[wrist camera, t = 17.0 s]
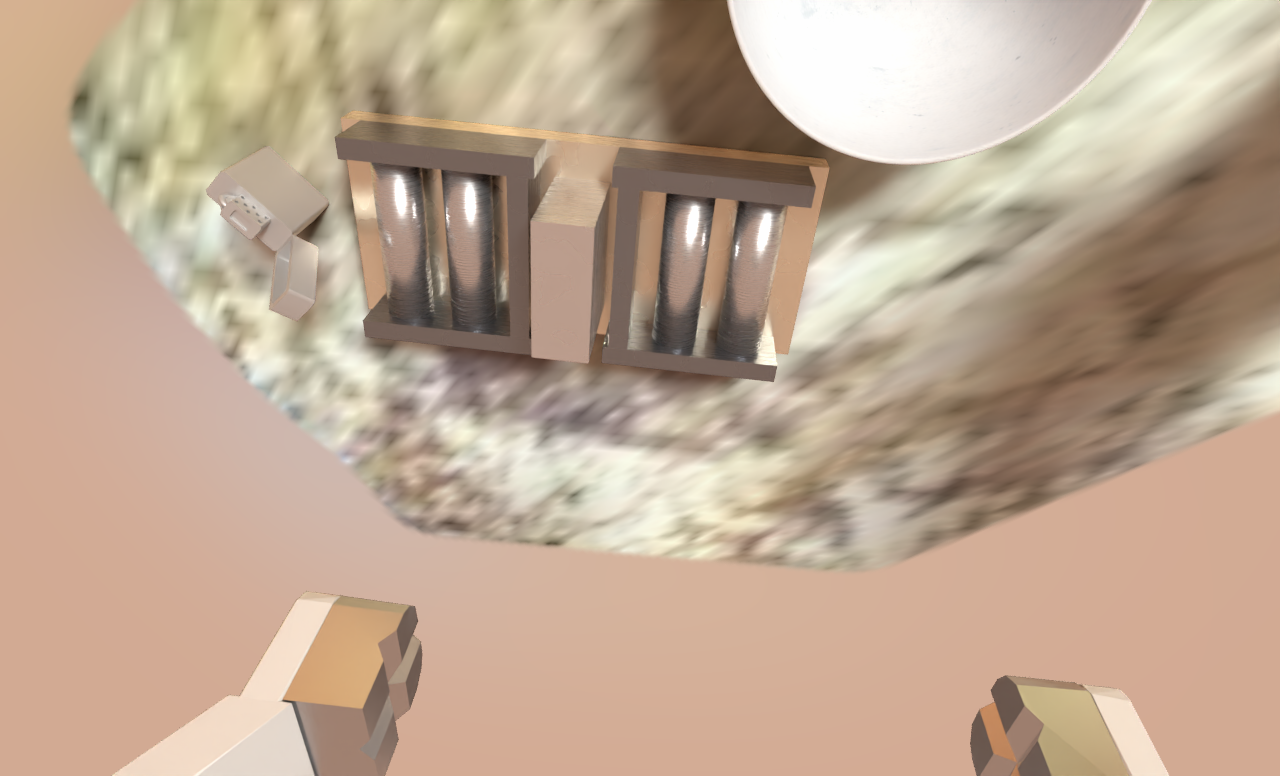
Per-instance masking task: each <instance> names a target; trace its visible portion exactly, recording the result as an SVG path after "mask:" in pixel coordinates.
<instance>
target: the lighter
mask: <svg viewBox="0 0 1280 776" xmlns="http://www.w3.org/2000/svg"><path fill="white" fill-rule="evenodd" d="M206 192H207V195H208V196H209V197H210V198H212V199H213V200H214V201H215V202H216V203H218V204H219V205H220V207H221V213H220V215H221V216H222V217H223V218H224V219H225V220H227V221H228V222H229V223H230V224H231V225H232V226H234V227H235V228H236V229H237V230H238V231H240V232H241V233H242V234H243V235H244V236H245V237H247V238H248V239H249V240H252V239H253V238H254V237H257V238H258V239H260V240H261V241H262V242H263V243H264V244H265V245H267V246H268V247H269V248H270V249H271V250H272V251H277V252H276V254H275V259H274V269H273V278H272V287H271V297H270V306H269V309H270V310H272V311H274V312H277V313H279V314H281V315H284V316H286V317H288V318H291V319H293V320H295V321H298V320H299V319H300V318H301V317H302V316H303V315H304V314H305V313H306V312H307V311H308V310H309V309H310V308H311V307H312V306H313V305H314V302H315V297H316V280H317V263H318V247H317V246H315V245H313V244H311V243H309V242H307V241H305V240H303V239H301V238H299V237H297V236H296V235H298V234H299V233H300V232H301V231H302V230H304V229H305V228H306V227H307V226H308V225H310V224H311V223H312V222H313V221H314V220H315V219H316V218H317V217H318V216H319V215H320V214H321V213H322V212H323V211H324V210H325V209H326V208H327V206H328V205H329V201H328V200H327V199H326V198H325V197H324V196H323V195H322V194H321V193H320V192H319V191H318V190H317V189H315V188H314V187H313V186H312V185H311V184H310V183H309V182H308V181H307V180H306V179H305V178H303V177H302V176H301V175H300V174H299V173H298V172H297V171H296V170H295V169H294V168H293V167H291V166H290V165H289V164H288V163H287V162H286V161H285V160H284V159H283V158H282V157H281V156H279V155H278V154H277V153H276V152H275V151H274V150H273V149H272V148H271V147H269V146H265V147H263V148H261V149H260V150H258V151H256V152H254V153H253V154H251V155H249V156H247V157H246V158H244V159H242V160H240V161H239V162H237V163H235V164H233V165H232V166H230V167H228V168H226V169H225V170H223V171H221V172H220V173H219V174H218V176H217V177H216V178H215V179H214V181H213V182H212V183H211V184H210V186H209V187H208V188H207V189H206Z"/></svg>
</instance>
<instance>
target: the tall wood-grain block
mask: <svg viewBox="0 0 1280 776" xmlns="http://www.w3.org/2000/svg"><path fill="white" fill-rule="evenodd" d="M610 184H611V182H605V181H595V180H585V179H576V178H566V177H556V176H555V177H554V179H553V181H552V183H551V185H550V186H549V188H548V190H547V192H546V194H545V196H544V197H543V199H542V201H541V203H540V205H539V206H538V208H537V210H536V212H535V214H534V215H533V217H532V219H531V351H532V357H533V358H542V359H552V360H561V361H570V362H579V363H588V364H589V360H590V356H591V352H592V349H593V345H594V341H595V337H596V333H597V330H598V326H599V322H600V318H601V315H602V311H603V307H604V293H605V275H606V256H607V238H608V220H609V202H610Z"/></svg>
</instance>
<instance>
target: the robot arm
mask: <svg viewBox="0 0 1280 776" xmlns="http://www.w3.org/2000/svg"><path fill="white" fill-rule="evenodd" d="M417 622H418V619H417V614H416V609H415V606H410V605H403V604H396V603H389V602H381V601H375V600H367V599H361V598H354V597H347V596H341V595H333V594H325V593H317V592H309V591H306V592H305V593H304V594H303V595H302V596H301V597H299V598H298V599H297V600H296V601H295V603H294V604H293V606H292V608H291V609H290V611H289V613H288V614H287V616H286V618H285V620H284V622H283V623H282V625H281V626H280V628H279V630H278V631H277V633H276V635H275V636H274V638H273V640H272V641H271V643H270V645H269V647H268V648H267V650H266V652H265V653H264V655H263V657H262V658H261V660H260V662H259V663H258V665H257V667H256V668H255V670H254V672H253V674H252V675H251V677H250V679H249V681H248V682H247V684H246V685H245V687H244V689H243V690H242V692H241V694H240V695H239V696H235V695H234V696H233V695H227V696H226V697H225V698H223V699H222V700H220V701H219V702H217V703H216V704H214V705H213V706H211V707H210V708H209V709H207V710H206V711H204V712H203V713H201V714H200V715H198V716H197V717H196V718H194V719H193V720H191V721H190V722H188V723H187V724H186V725H184V726H182V727H181V728H180V729H178V730H177V731H175V732H174V733H172V734H171V735H169V736H168V737H166V738H165V739H164V740H162V741H161V742H159V743H158V744H156V745H155V746H154V747H152V748H151V749H149V750H148V751H146V752H145V753H143V754H142V755H140V756H139V757H138V758H136V759H135V760H133V761H132V762H130V763H129V764H128V765H126V766H125V767H123V768H122V769H120V770H119V771H117V772H116V773H114V774H113V775H111V776H385V774H386V771H387V769H388V766H389V763H390V761H391V758H392V755H393V753H394V750H395V748H396V745H397V742H398V734H397V728H396V723H395V721H396V720H397V719H398V718H399V717H401V716H402V715H403V714H404V713H405V712H407V711H408V710H409V709H410V707H411V704H412V701H413V699H414V696H415V693H416V690H417V686H418V681H419V676H420V672H421V666H422V649H421V642H420V641H419V640H418V639H417V638H416V637H415V636H414V635H413V633H414V630H415V628H416V625H417ZM991 692H992V696H993V698H994V701H995V702H994V703H991V704H989V705H987V706H985V707H983V708H981V709H980V710H979V712H978V714H977V715H976V718H975V720H974V722H973V724H972V731H971V742H970V745H971V753H972V760H973V764H974V767H975V771H976V775H977V776H1169V774H1168V772H1167V771H1166V769H1165V766H1164V765H1163V763H1162V761H1161V759H1160V757H1159V755H1158V753H1157V751H1156V749H1155V747H1154V746H1153V744H1152V742H1151V740H1150V738H1149V736H1148V734H1147V732H1146V730H1145V728H1144V726H1143V725H1142V722H1141V721H1140V719H1139V717H1138V715H1137V713H1136V711H1135V709H1134V707H1133V705H1132V703H1131V701H1130V700H1129V698H1128V697H1127V696H1126V695H1125V694H1124V693H1123V692H1122V691H1121V690H1120V689H1115V688H1110V687H1100V686H1090V685H1079V684H1076V683H1074V682H1063V681H1054V680H1045V679H1035V678H1026V677H1016V676H1003V677H1001V678H999V679H997V681H996V682H995V684H994V686H993V687H992V689H991Z"/></svg>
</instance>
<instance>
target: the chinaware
mask: <svg viewBox="0 0 1280 776" xmlns="http://www.w3.org/2000/svg"><path fill="white" fill-rule="evenodd" d="M1151 1H1152V0H727V5H728V10H729V15H730V19H731V23H732V27H733V31H734V34H735V37H736V40H737V43H738V46H739V48H740V51H741V53H742V56H743V58H744V60H745V62H746V64H747V66H748V68H749V70H750V72H751V74H752V76H753V77H754V79H755V81H756V82H757V84H758V85H759V87H760V88H761V90H762V91H763V93H764V94H765V95H766V97H767V98H768V99H769V101H770V102H771V103H772V104H773V105H774V106H775V108H776V109H777V110H778V111H779V112H780V113H781V114H782V115H783V116H784V117H785V118H786V119H787V120H788V121H790V122H791V123H792V124H793V125H794V126H795V127H797V128H798V129H799V130H800V131H802V132H803V133H805V134H806V135H808V136H809V137H811V138H812V139H814V140H815V141H817V142H819V143H821V144H823V145H825V146H827V147H829V148H831V149H833V150H835V151H838V152H840V153H843V154H846V155H848V156H852V157H855V158H858V159H862V160H866V161H872V162H877V163H884V164H897V165H917V164H929V163H937V162H944V161H949V160H954V159H958V158H962V157H965V156H969V155H972V154H975V153H978V152H981V151H984V150H987V149H989V148H992V147H994V146H997V145H999V144H1001V143H1003V142H1006V141H1008V140H1010V139H1012V138H1014V137H1016V136H1018V135H1020V134H1021V133H1023V132H1025V131H1027V130H1028V129H1030V128H1032V127H1033V126H1035V125H1037V124H1038V123H1040V122H1041V121H1043V120H1044V119H1046V118H1047V117H1049V116H1050V115H1052V114H1053V113H1054V112H1056V111H1057V110H1058V109H1060V108H1061V107H1062V106H1063V105H1065V104H1066V103H1067V102H1068V101H1070V100H1071V99H1072V98H1073V97H1074V96H1075V95H1077V94H1078V93H1079V92H1080V91H1081V90H1082V89H1083V88H1084V87H1085V86H1087V85H1088V84H1089V83H1090V82H1091V81H1092V80H1093V79H1094V78H1095V77H1096V76H1097V74H1098V73H1099V72H1100V71H1101V70H1102V69H1103V68H1104V67H1105V66H1106V65H1107V64H1108V62H1109V61H1110V60H1111V59H1112V58H1113V57H1114V55H1115V54H1116V53H1117V52H1118V50H1119V49H1120V48H1121V47H1122V45H1123V44H1124V43H1125V41H1126V40H1127V39H1128V37H1129V36H1130V34H1131V33H1132V32H1133V30H1134V29H1135V27H1136V26H1137V24H1138V23H1139V21H1140V20H1141V18H1142V16H1143V15H1144V13H1145V11H1146V10H1147V8H1148V6H1149V5H1150V3H1151Z"/></svg>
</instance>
